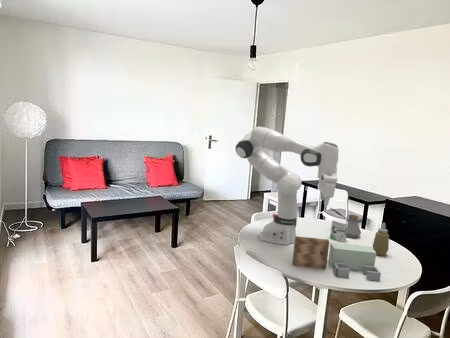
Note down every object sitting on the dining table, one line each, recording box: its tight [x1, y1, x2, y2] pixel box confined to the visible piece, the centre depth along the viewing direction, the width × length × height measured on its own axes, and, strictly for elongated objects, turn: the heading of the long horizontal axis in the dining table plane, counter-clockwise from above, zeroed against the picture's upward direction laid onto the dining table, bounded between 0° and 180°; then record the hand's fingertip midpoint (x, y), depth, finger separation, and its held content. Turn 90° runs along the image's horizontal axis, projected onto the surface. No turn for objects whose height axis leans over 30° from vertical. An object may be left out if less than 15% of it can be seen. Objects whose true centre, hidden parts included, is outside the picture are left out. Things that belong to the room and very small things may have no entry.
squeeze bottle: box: [372, 222, 390, 257], centre depth 182 cm, size 8×8×18 cm
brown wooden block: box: [292, 235, 330, 270], centre depth 162 cm, size 16×4×14 cm, turn 84°
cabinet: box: [327, 242, 382, 282], centre depth 161 cm, size 17×20×10 cm
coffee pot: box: [329, 207, 362, 239], centre depth 212 cm, size 21×12×15 cm, turn 50°
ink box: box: [329, 218, 348, 243], centre depth 202 cm, size 9×5×12 cm, turn 48°
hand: (324, 202), depth 166 cm, fingers open, 8 cm apart
